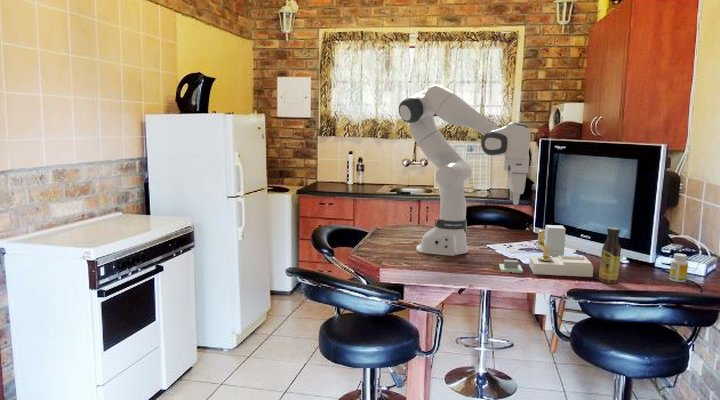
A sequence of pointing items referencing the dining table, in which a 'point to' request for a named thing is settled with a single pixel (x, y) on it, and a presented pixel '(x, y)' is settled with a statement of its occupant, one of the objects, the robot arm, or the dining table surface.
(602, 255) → the sauce bottle
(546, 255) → the brass crank key
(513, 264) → the sage cover
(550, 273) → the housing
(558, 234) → the supplement box
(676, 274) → the supplement bottle
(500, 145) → the robot arm
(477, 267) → the dining table surface
